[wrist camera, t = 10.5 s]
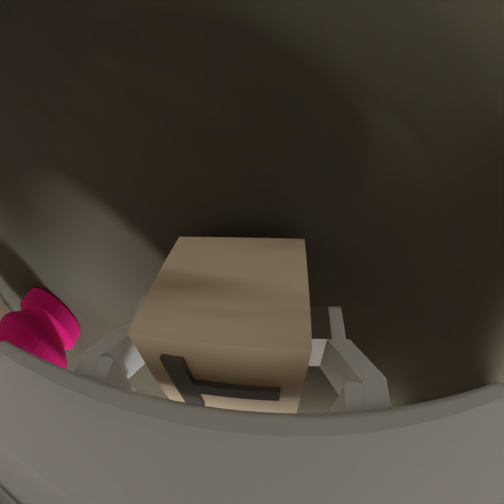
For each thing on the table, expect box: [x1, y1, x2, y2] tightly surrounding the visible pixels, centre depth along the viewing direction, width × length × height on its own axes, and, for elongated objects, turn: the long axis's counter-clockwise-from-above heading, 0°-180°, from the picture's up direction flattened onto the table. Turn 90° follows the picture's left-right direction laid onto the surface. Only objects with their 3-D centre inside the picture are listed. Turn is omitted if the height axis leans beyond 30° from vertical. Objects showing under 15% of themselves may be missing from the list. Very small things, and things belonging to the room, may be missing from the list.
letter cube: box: [127, 237, 312, 413], centre depth 10 cm, size 5×5×5 cm
